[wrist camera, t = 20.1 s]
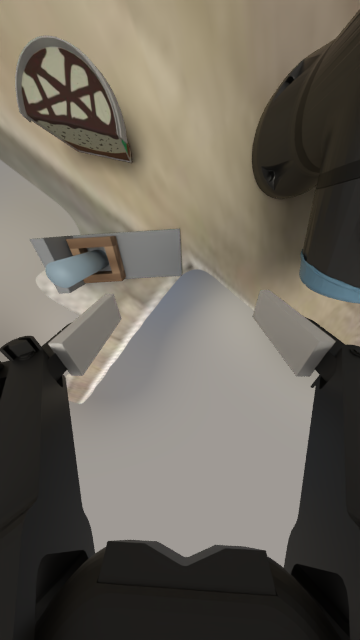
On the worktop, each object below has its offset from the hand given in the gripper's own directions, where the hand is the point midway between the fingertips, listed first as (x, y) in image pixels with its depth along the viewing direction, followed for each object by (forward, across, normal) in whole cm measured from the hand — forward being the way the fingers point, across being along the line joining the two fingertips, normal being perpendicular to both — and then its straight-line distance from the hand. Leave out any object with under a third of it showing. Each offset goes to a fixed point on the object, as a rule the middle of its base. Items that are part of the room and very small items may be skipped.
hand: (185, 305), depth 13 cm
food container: (+25, -13, +20) cm, 35 cm away
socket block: (+23, -20, 0) cm, 31 cm away
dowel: (+24, -20, 0) cm, 31 cm away
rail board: (+25, -14, 0) cm, 29 cm away
